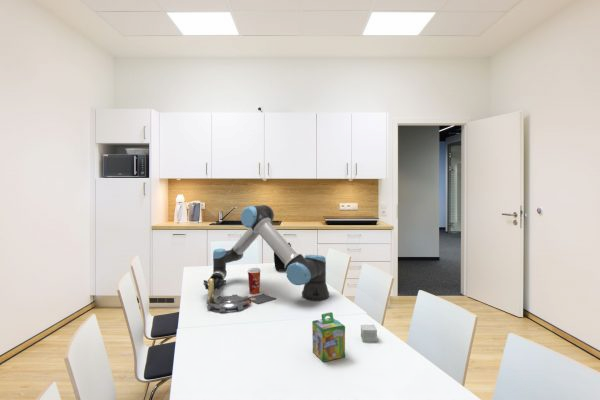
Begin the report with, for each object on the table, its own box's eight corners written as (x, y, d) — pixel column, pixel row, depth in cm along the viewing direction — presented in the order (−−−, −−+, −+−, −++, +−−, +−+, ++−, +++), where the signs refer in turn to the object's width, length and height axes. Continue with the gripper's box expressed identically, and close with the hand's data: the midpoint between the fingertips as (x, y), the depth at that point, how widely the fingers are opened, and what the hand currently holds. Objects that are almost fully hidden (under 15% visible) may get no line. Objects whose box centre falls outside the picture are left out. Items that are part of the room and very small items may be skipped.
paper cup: (255, 295, 197) (255, 271, 197) (245, 293, 201) (244, 269, 201) (263, 292, 204) (263, 268, 203) (253, 290, 208) (253, 266, 208)
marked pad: (276, 299, 190) (276, 297, 190) (258, 304, 183) (258, 302, 182) (263, 294, 199) (263, 293, 199) (245, 299, 191) (245, 297, 191)
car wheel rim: (292, 272, 251) (292, 244, 250) (279, 273, 248) (278, 245, 248) (286, 266, 270) (286, 240, 269) (274, 267, 268) (273, 241, 267)
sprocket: (259, 300, 187) (258, 275, 186) (234, 314, 166) (233, 286, 166) (224, 295, 196) (224, 271, 196) (197, 307, 176) (196, 281, 175)
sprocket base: (258, 305, 180) (258, 304, 180) (220, 316, 166) (220, 315, 166) (236, 296, 197) (236, 295, 197) (199, 305, 182) (199, 304, 182)
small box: (360, 336, 142) (360, 324, 142) (374, 336, 142) (374, 324, 142) (362, 342, 137) (362, 330, 136) (377, 342, 136) (377, 330, 136)
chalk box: (323, 362, 121) (322, 320, 120) (311, 351, 129) (311, 311, 129) (346, 357, 125) (345, 316, 124) (333, 346, 133) (333, 308, 132)
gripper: (228, 285, 206) (222, 297, 183) (206, 285, 205) (197, 298, 182) (228, 272, 206) (222, 283, 182) (205, 272, 205) (197, 284, 181)
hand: (209, 291), depth 182 cm, fingers closed
